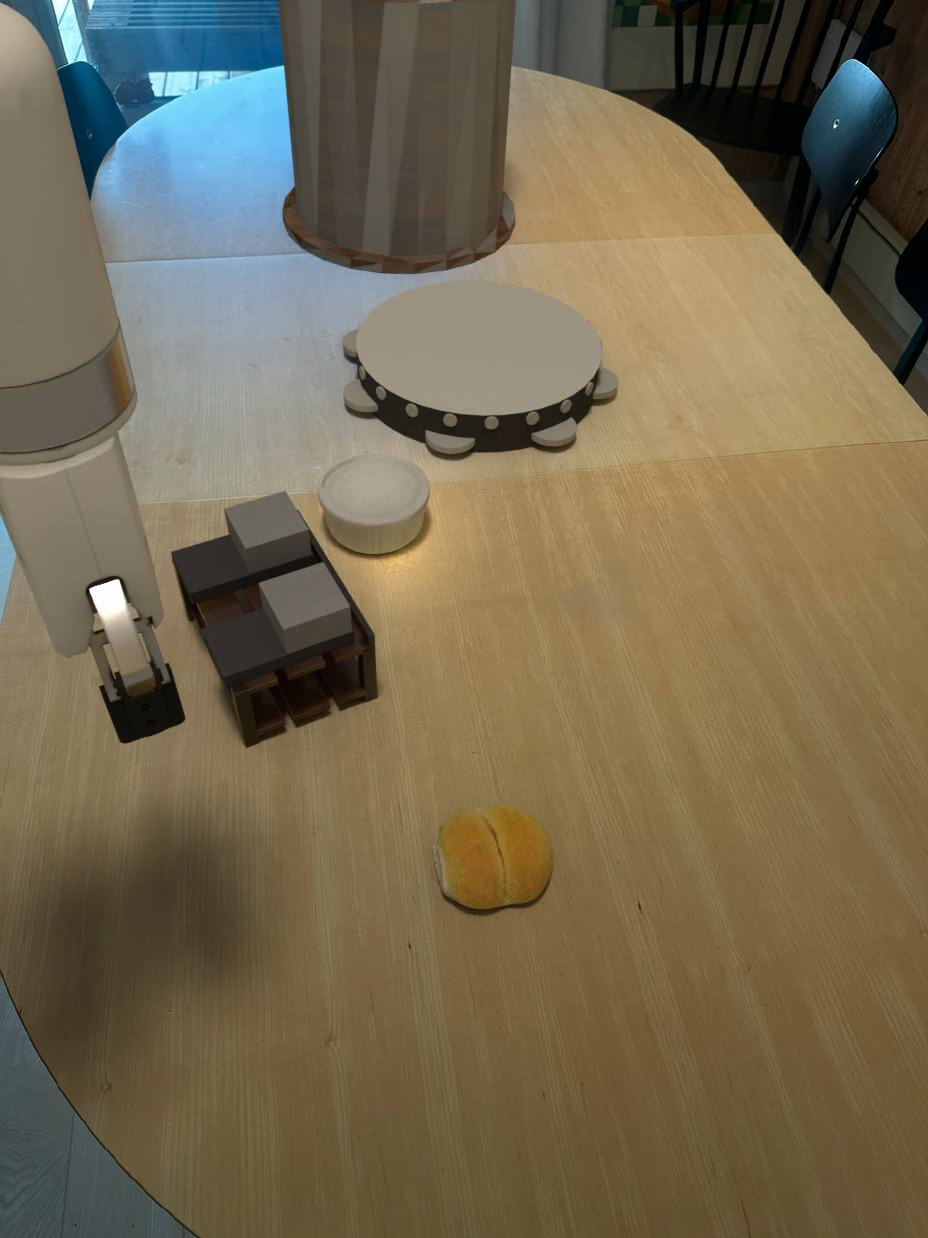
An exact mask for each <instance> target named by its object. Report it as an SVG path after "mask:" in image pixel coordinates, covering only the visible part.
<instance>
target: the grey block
mask: <svg viewBox="0 0 928 1238" xmlns="http://www.w3.org/2000/svg"><path fill="white" fill-rule="evenodd" d="M297 510H298V509H297V508H296V506H295V504H294V503H293V501H292V499H291V498H290V496H289V495H288V492H287V491H286V490H283V491H280V492H276V493H273V494H269V495H266V496H263V497H258V498H256V499H253V500H249V501H245V502H242V503H239V504H234V505H232V506H228V507H224V508H223V511H224V516H225V517H224V518H225V522H226V527H227V533H228V534H225V535H222V536H219V537H216V538H215V537H214V538H212V539H209V540H205V541H203V542H199V543H196V544H193V545H189V546H186V547H183V548H179V549H176V550H172V551H171V552H170V555H171V560H172V559H173V563H174V565H175V567H176V570H177V572H178V574H179V576H180V578H181V580H182V583H183V585H184V587H185V589H186V591H187V593H188V596H189V598H190V600H191V602H192V604H193V605H194V604H197V603H200V602H203V601H206V600H210V599H213V598H216V597H219V596H222V595H225V594H228V593H231V592H234V591H237V590H240V589H244V588H247V587H250V586H253V585H256V584H259V583H260V582H263V581H266V580H269V579H272V578H276V577H279V576H282V575H285V574H288V573H291V572H294V571H297V570H300V569H303V568H307V567H310V566H313V565H315V562H314V554H313V552H312V551H311V546H310V536H309V529H308V527H307V526H306V524H305V522H306V521H305V522H304V521H303V519H302V517H303V516H302V517H301V516H300V514H299V513H298V511H297ZM173 563H172V564H173Z"/></svg>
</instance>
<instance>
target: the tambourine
mask: <svg viewBox="0 0 928 1238" xmlns="http://www.w3.org/2000/svg"><path fill="white" fill-rule="evenodd" d="M342 350H343V351H344V353H346V354H347V355H348V356H350V357H352V358H354V359H356V369H357V370H356V371H357V379H354V380H352V381H350V382H349V383H347V384H346V385H345V387H344V389H343V392H342V393H343V395H342V396H343V401H344V404H345V405H346V406H347V407H348V408H350V409H351V410H354V411H357V412H360V413H372V414H373V415H374V416H375V418H376V419H378V420H379V421H380V422H382V423H383V424H384V425H386V426H387V427H388V428H390V429H392V430H393V431H395V432H397V433H398V434H400V435H402V436H403V437H407V438H409V439H412V440H414V441H416V442H419V443H423V444H425V445H426V444H427V445H428V446H429V448H431V449H432V450H434V451H436V452H439V453H442V454H447V455H455V454H462V453H466V452H468V453H502V452H510V451H511V452H512V451H518V450H523V449H527V448H531V447H532V448H533V447H535V446H536V447H537V446H539V445H542V446H546V447H560V446H564V445H568V444H570V443H571V442H572V441H574V439H575V438H576V435H577V429H578V426H577V425H579V424H580V423H581V422H582V420H583V419H585V417H586V416H587V415H588V414H589V412H590V411H591V408H592V406H593V404H594V401H595V400H603V399H608V398H611V397H612V396H614V395H615V394H616V392H617V391H618V387H619V378H618V376H617V375H616V374H615V373H614V372H612V371H611V370H609V369H607V368H605V367H603V365H604V361H602V356H603V355H602V352H603V341H602V340H600V338H599V335H598V333H597V332H596V330H595V329H594V327H593V325H592V324H591V322H590V320H587V319H586V318H585V317H584V316H583V315H582V314H581V313H579V311H577V310H576V309H574V308H573V307H571V306H570V305H568V304H567V303H565V302H564V301H562V300H560V299H557V298H555V297H553V296H551V295H548V294H546V293H543V292H540V291H537V290H534V289H531V288H529V287H524V286H520V285H515V284H511V283H505V282H497V281H487V280H455V281H454V280H453V281H442V282H436V283H430V284H426V285H422V286H418V287H413V288H411V289H408V290H406V291H403V292H400V293H398V294H395V295H394V296H391V297H390V298H388V299H385V300H384V301H383V302H381V303H380V304H378V305H377V306H376V307H375V308H373V309H372V310H371V311H370V312H369V313H368V314H367V316H365V318H364V319H363V320H362V322H361V324H359V325H358V328H357V329H353V330H351V331H348V332H347V333H346V334H345V335H344V336H343V338H342Z"/></svg>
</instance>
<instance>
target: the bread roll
mask: <svg viewBox="0 0 928 1238" xmlns="http://www.w3.org/2000/svg"><path fill="white" fill-rule="evenodd" d="M432 853H433V860H434V869H435V872H436V876H437V879H438V882H439V884H440V889H441V891H442V893H443V894H444V896H446V897H447V898H449V899H451V900H453V901H455V902H457V903H458V904H460V905H462V906H464V907H467V908H470V909H476V910H492V909H495V908H500V907H504V906H508V905H519V904H520V905H521V904H525V903H526V904H527V903H529V902H532V901H534V900H536V899H537V898H538V897H539V896H540V894H541V893H542V892H543V890H544V889H545V888H546V886H547V884H548V882H549V879H550V878H551V874H552V870H553V866H554V850H553V845H552V841H551V839H550V836H549V834H548V831H546V829H545V828H544V826H543V825H542V824H541V822H540V821H539V820H538V819H536V818H535V817H534V816H533V815H532V814H530V813H528V812H527V811H524V810H522V809H520V808H517V807H514V806H510V805H507V804H499V803H498V804H496V803H495V804H488V805H484V806H479V807H475V808H472V809H466V810H461V811H458V812H456V813H454V814H453V815H451V816H450V817H448V818H447V819H445V820H444V821H443V822H442V824H440V826H439V829H438V830H437V833H436V836H435V840H434V842H433V846H432Z"/></svg>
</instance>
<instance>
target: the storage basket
mask: <svg viewBox="0 0 928 1238" xmlns="http://www.w3.org/2000/svg"><path fill="white" fill-rule="evenodd" d="M277 6H278V15H279V26H280V37H281V47H282V48H281V49H282V59H283V60H282V61H283V70H284V71H283V72H284V82H285V93H286V105H287V115H288V117H287V118H288V127H289V137H290V138H289V139H290V149H291V159H292V171H293V181H294V182H293V183H294V184H293V185H294V186H293V187H292V188H291V190H290V191H289V192H288V193H287V194H286V196H285V197H284V200H283V205H282V209H281V214H282V215H281V216H282V222H283V224H284V227H285V229H286V232H287V235H288V236H289V237H290V239H292V240H293V241H294V242H295V243H296V244H297V245H298V246H299V247H300V248H301V249H302V250H305V251H307V252H309V253H310V254H312V255H314V256H316V257H317V258H320V259H322V260H324V261H327V262H330V263H333V264H337V265H340V266H342V267H346V268H349V269H355V270H362V271H366V272H367V271H368V272H374V273H380V274H421V273H431V272H439V271H447V270H452V269H455V268H458V267H462V266H466V265H469V264H474V263H476V262H478V261H480V260H482V259H484V258H486V257H488V256H490V255H492V254H494V253H496V252H497V251H498V250H499V249H501V247H502V246H503V245H505V244H506V243H507V242H508V241H509V240H510V238H511V236H512V234H513V231H514V229H515V227H516V216H517V215H516V211H515V203H514V202H513V200H512V199H511V198H510V196H509V195H508V193H507V192H506V191H505V190H504V182H505V170H506V169H505V168H506V167H505V166H506V154H507V153H506V152H507V140H508V139H507V137H508V125H509V109H510V107H509V106H510V97H511V96H510V93H511V80H512V79H511V78H512V65H513V49H514V38H515V37H514V36H515V21H516V6H517V0H277Z"/></svg>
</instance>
